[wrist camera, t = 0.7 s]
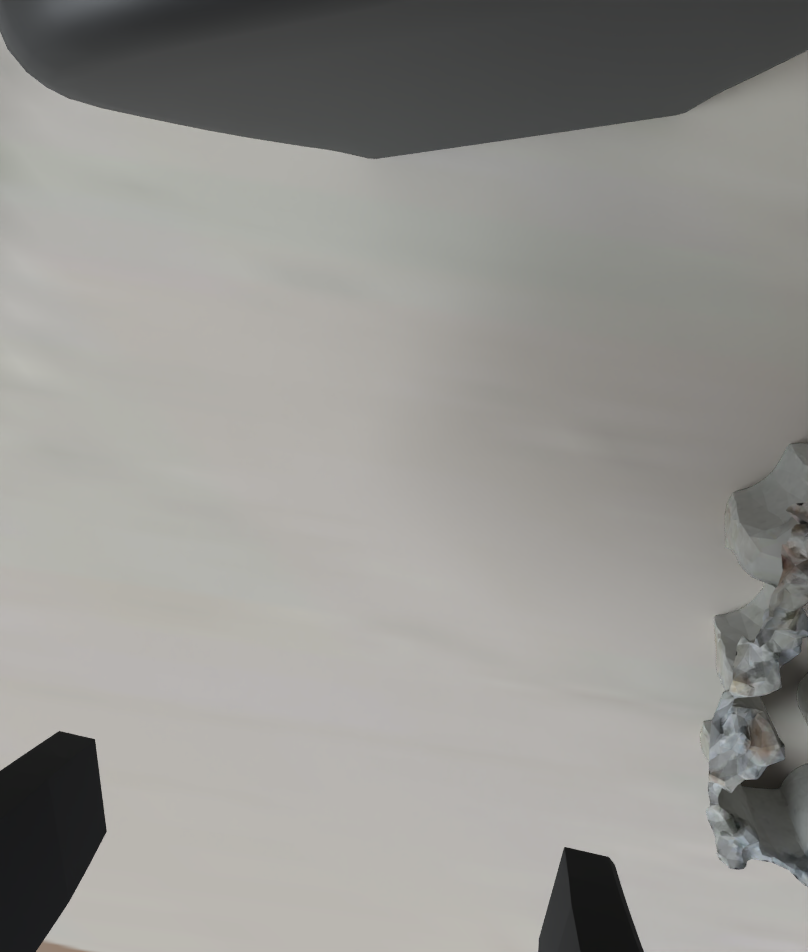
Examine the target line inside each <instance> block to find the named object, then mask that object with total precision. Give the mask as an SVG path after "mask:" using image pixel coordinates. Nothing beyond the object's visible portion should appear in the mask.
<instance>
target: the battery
mask: <svg viewBox="0 0 808 952" xmlns="http://www.w3.org/2000/svg"><path fill="white" fill-rule="evenodd" d="M0 32H1V34H2V37H3V39H4V41H5V44H6V46H7V49H8V50H9V51H10V52H11V54H12V55H13V56H14V57H15V58H16V60H17V61H18V62H19V63H20V65H21V66H22V67H23V68H24V69H25V71H26V72H27V73H29V74H30V75H31V76H32V77H34V78H35V79H36V80H38V81H39V82H40V83H42V84H43V85H44V86H46V87H47V88H49V89H51V90H53V91H55V92H57V93H59V94H61V95H63V96H65V97H67V98H69V99H73V100H76V101H80V102H83V103H86V104H90V105H93V106H97V107H100V108H104V109H108V110H113V111H118V112H122V113H127V114H132V115H136V116H141V117H145V118H150V119H155V120H160V121H165V122H169V123H174V124H179V125H184V126H189V127H194V128H199V129H204V130H209V131H215V132H220V133H226V134H231V135H237V136H242V137H248V138H254V139H261V140H267V141H273V142H279V143H286V144H292V145H299V146H305V147H312V148H320V149H327V150H332V151H338V152H343V153H347V154H352V155H356V156H360V157H365V158H372V159H377V158H384V157H391V156H398V155H406V154H413V153H420V152H427V151H434V150H441V149H447V148H454V147H461V146H468V145H475V144H482V143H489V142H496V141H503V140H510V139H517V138H524V137H530V136H537V135H544V134H551V133H558V132H565V131H571V130H578V129H585V128H592V127H599V126H606V125H612V124H619V123H626V122H633V121H639V120H646V119H653V118H660V117H666V116H673V115H678V114H681V113H685V112H687V111H689V110H690V109H692V108H694V107H695V106H697V105H699V104H701V103H702V102H704V101H706V100H707V99H709V98H711V97H713V96H714V95H716V94H718V93H720V92H722V91H724V90H726V89H728V88H730V87H732V86H734V85H737V84H739V83H741V82H743V81H745V80H747V79H750V78H752V77H754V76H756V75H758V74H760V73H762V72H764V71H766V70H768V69H770V68H772V67H774V66H776V65H778V64H781V63H783V62H785V61H787V60H789V59H791V58H793V57H795V56H797V55H799V54H801V53H803V52H805V51H807V50H808V0H0Z"/></svg>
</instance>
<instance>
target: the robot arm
mask: <svg viewBox="0 0 808 952" xmlns="http://www.w3.org/2000/svg"><path fill="white" fill-rule="evenodd" d="M106 832H107V831H106V823H105V815H104V807H103V800H102V792H101V784H100V776H99V768H98V760H97V752H96V744H95V739H91V738H87V737H83V736H78V735H74V734H69V733H65V732H61V731H59V732H57V733H56V734H54V735H53V736H51V737H50V738H48V739H47V740H45V741H44V742H42V743H41V744H39V745H38V746H36V747H35V748H33V749H32V750H30V751H29V752H27V753H26V754H24V755H23V756H21V757H20V758H18V759H17V760H16V761H14V762H13V763H11V764H10V765H8V766H7V767H5V768H4V769H2V770H1V771H0V952H36V950H37V949H38V947H39V946H40V945H41V943H42V942H43V940H44V939H45V937H46V936H47V934H48V933H49V931H50V930H51V928H52V927H53V925H54V924H55V922H56V921H57V919H58V918H59V916H60V915H61V913H62V912H63V910H64V909H65V907H66V906H67V904H68V902H69V901H70V899H71V897H72V895H73V894H74V892H75V890H76V888H77V886H78V885H79V883H80V881H81V879H82V877H83V876H84V874H85V872H86V870H87V868H88V866H89V864H90V862H91V861H92V859H93V857H94V855H95V853H96V851H97V849H98V847H99V845H100V843H101V841H102V839H103V837H104V835H105V834H106ZM538 952H644V951H643V948H642V946H641V943H640V940H639V937H638V935H637V932H636V929H635V926H634V923H633V920H632V917H631V915H630V912H629V909H628V906H627V903H626V900H625V896H624V893H623V890H622V887H621V884H620V881H619V877H618V874H617V871H616V867H615V864H614V863H613V862H612V861H611V859H610V858H609V857H606V856H602V855H597V854H593V853H589V852H584V851H580V850H576V849H571V848H567V847H564V850H563V854H562V858H561V861H560V865H559V869H558V872H557V876H556V879H555V883H554V887H553V890H552V894H551V897H550V901H549V905H548V908H547V912H546V916H545V919H544V923H543V926H542V930H541V934H540V937H539V950H538Z"/></svg>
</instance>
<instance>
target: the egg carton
mask: <svg viewBox="0 0 808 952" xmlns="http://www.w3.org/2000/svg"><path fill="white" fill-rule="evenodd" d="M725 533H726V536H725V548H728V549H730V550H731V551H732V552H733V553H734V554H735V555H736V557H737V560H738V563H739V564H740V566H741V567H742V569H744V570H745V571H746V572H747V573H748V574H749V575H750V576H751V577H753V578H755V579H758V580H760V581H762V582H765V583H764V586H763V589H762V590H761V591H760V593H759V594H758V595H757V596H756V597H755V598H754V599H753V600H752V601H751V602H750V603H749V604H747V605H746V606H744V607H743V608H741V609H739V610H737V611H734V612H731V613H728V614H724V615H716V616H714V632H715V646H716V670H717V674H718V676H719V677H720V679H721V683H722V685H723V688H724V690H725V692H723V694H722V697H721V699H720V702H719V704H718V707H717V710H716V712H715V714H714V717H713V719H712V720H708V721H703V726H702V729H701V732H700V734H701V735H700V744H701V749H702V752H703V754H704V756H705V757H706V759H707V761H708V762H709V784H708V792H709V798H710V807H709V808H707V811H706V813H707V817H708V820H709V823H710V825H711V827H712V830H713V832H714V835H715V840H716V847H717V852H718V853H716V854H717V856H718V857H719V859H720V860H721V861H722V862H723V863H724V864H725V865H727V866H728V867H729V868H731V869H738V870H739V869H744V868H745V866H746V863H747V861H748V860H750V859H755V860H761V861H767V862H772V863H775V864H777V865H779V866H781V867H783V868H786V869H788V870H790V872H791V873H792V874H793V875H794V876H795V877H796V878H797V879H798V880H799V881H800V882H801V883H802V884H803V885H805V886H807V887H808V764H805V765H802V766H800V767H798V768H796V769H795V770H794V771H792V772H791V773H790V774H789V775H788V776H787V777H786V778H785V780H784V781H783V783H782V785H781V787H780V788H778V789H765V788H750V787H742V786H741V784H740V783H741V782H743V781H744V780H750V779H758V778H759V777H760V776H761V775H762V773H763V772H764V770H765V769H766V767H767V766H769V765H772V764H774V763H777V762H780V761H782V760H785V748H784V744H783V742H782V741H781V740H780V738H779V737H778V735H777V732H776V730H775V728H774V726H773V724H772V722H771V720H770V718H769V715H768V713H767V711H766V709H765V706H764V704H763V702H762V699H761V697H760V696H762V695H768V694H770V693H772V692H774V691H776V690H778V689H780V688H782V683H781V676H780V668H781V666H782V665H784V664H785V663H787V662H789V661H790V660H792V659H793V658H794V657H795V656H796V655H798V654H799V653H800V652H801V644H802V638H805V637H808V618H807V616H806V614H805V612H804V610H803V608H802V607H803V606H804V605H805V604H807V603H808V444H806V443H797V444H790V445H789V446H788V447H787V448H786V450H785V452H784V454H783V456H782V457H781V459H780V461H779V462H778V464H777V466H776V467H775V469H774V470H773V471H772V472H771V473H770V474H769V475H768V476H767V477H766V478H765V479H764V480H762V481H760V482H759V483H757V484H755V485H754V486H752V487H750V488H747V489H743V490H740V491H736V492H734V493H733V494H732V496H731V497H730V498H729V501H728V503H727V506H726V511H725ZM796 696H797V702H798V706H799V708H800V710H801V712H802V714H803V716H804V718H805V720H806V722H807V725H808V673H807V674H806V675H805V676H804V678H803V679H802V680H801V681H800V683H799V686H798V689H797V693H796Z"/></svg>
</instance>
